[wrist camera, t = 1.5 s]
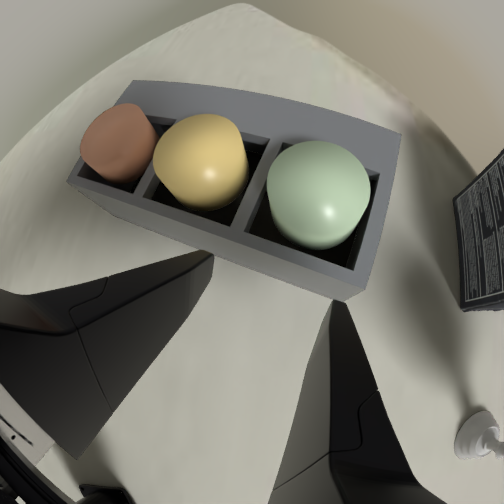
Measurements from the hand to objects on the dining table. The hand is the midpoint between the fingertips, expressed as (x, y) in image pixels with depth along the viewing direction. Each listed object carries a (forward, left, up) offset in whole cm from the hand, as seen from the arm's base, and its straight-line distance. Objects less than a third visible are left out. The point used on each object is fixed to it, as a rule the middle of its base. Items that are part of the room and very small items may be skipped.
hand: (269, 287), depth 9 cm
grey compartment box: (-1, +10, -14) cm, 17 cm away
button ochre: (-2, +9, -7) cm, 12 cm away
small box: (+19, -2, -14) cm, 24 cm away
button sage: (+4, +5, -7) cm, 9 cm away
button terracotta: (-7, +14, -7) cm, 17 cm away
